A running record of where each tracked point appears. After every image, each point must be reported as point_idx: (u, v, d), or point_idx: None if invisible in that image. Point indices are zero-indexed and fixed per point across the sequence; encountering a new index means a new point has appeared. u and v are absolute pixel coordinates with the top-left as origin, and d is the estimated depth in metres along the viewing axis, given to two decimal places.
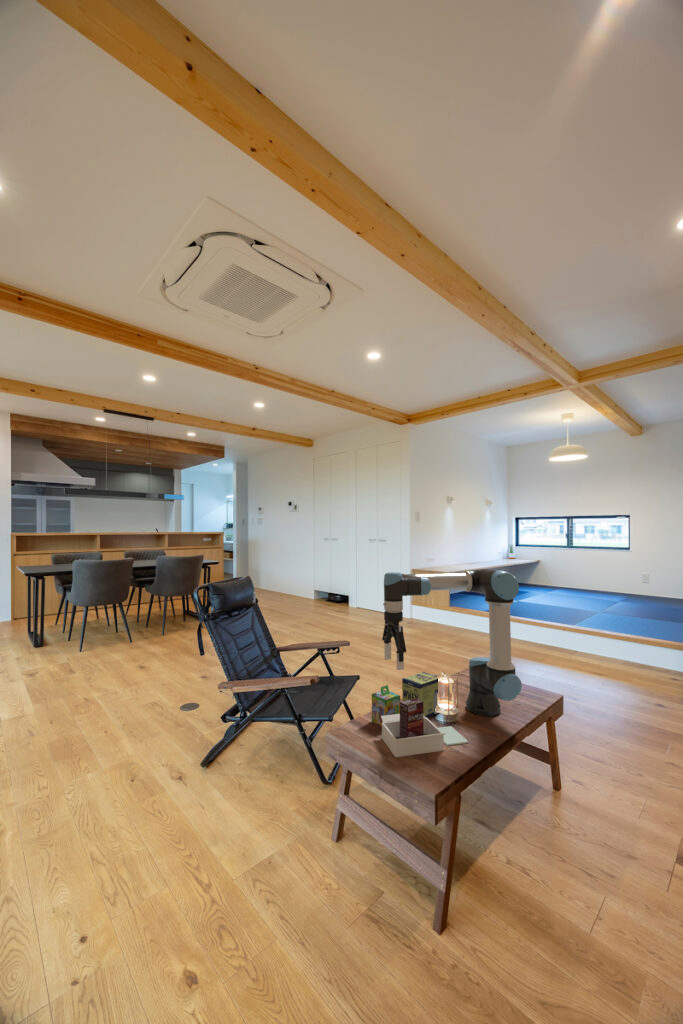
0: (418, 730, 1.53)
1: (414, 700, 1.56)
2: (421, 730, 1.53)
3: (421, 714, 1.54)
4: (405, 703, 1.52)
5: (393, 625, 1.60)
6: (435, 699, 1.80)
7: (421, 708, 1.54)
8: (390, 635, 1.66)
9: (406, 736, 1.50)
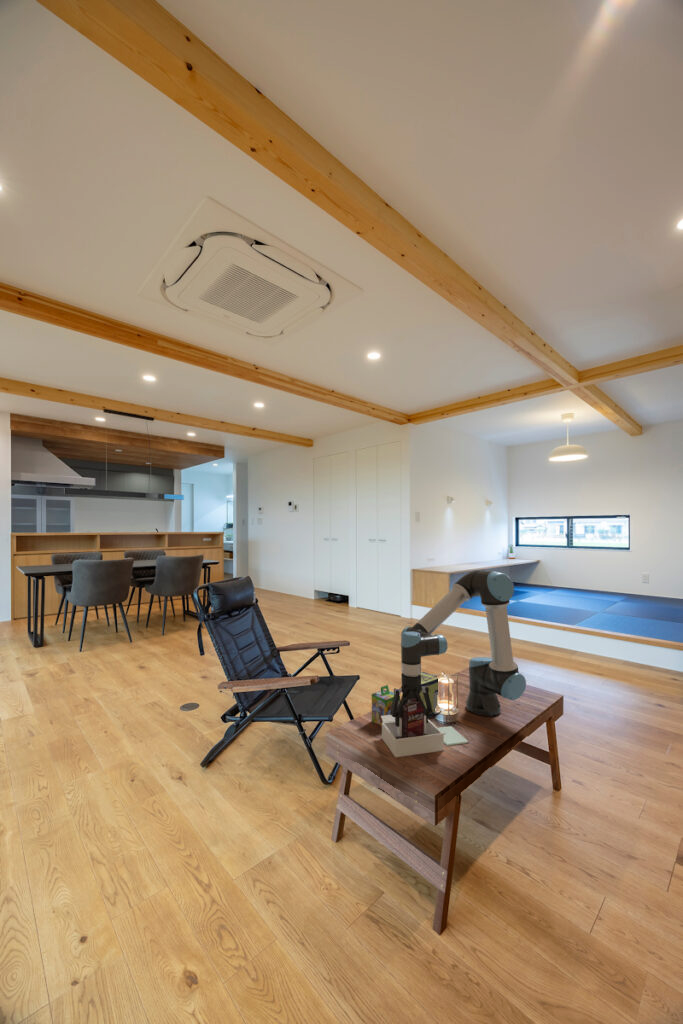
0: (418, 730, 1.53)
1: (414, 700, 1.56)
2: (421, 730, 1.53)
3: (421, 714, 1.54)
4: None
5: None
6: (435, 699, 1.80)
7: (421, 708, 1.54)
8: None
9: (406, 736, 1.50)
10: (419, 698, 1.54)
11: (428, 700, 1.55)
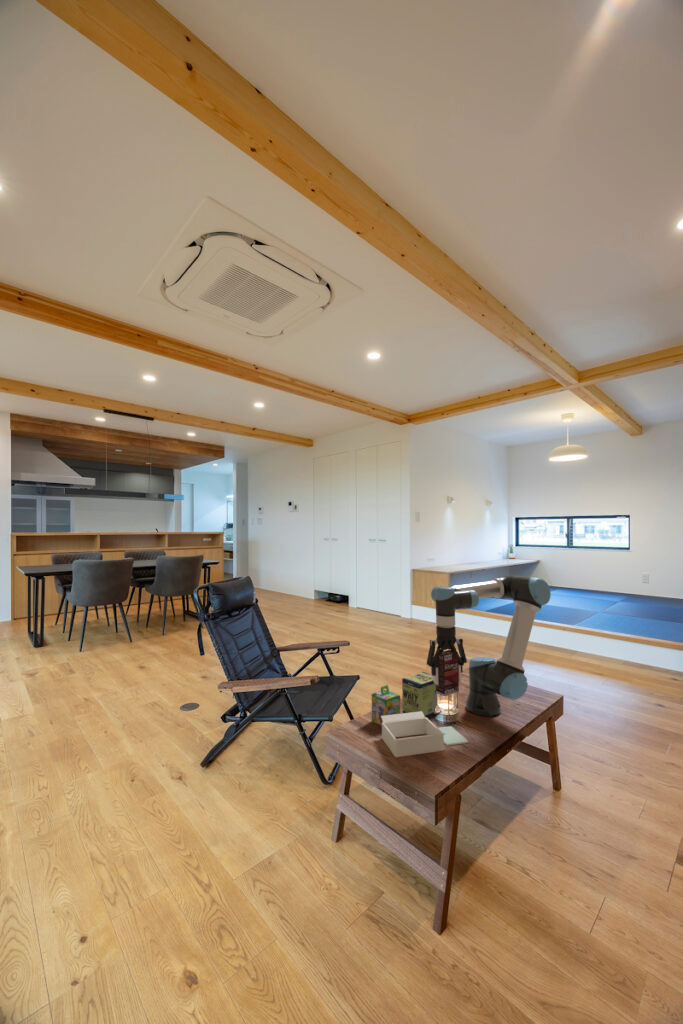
0: (454, 679, 1.60)
1: (449, 651, 1.63)
2: (457, 679, 1.61)
3: (456, 664, 1.61)
4: None
5: None
6: (435, 699, 1.80)
7: (456, 658, 1.61)
8: None
9: (443, 684, 1.57)
10: (454, 649, 1.61)
11: (462, 651, 1.62)
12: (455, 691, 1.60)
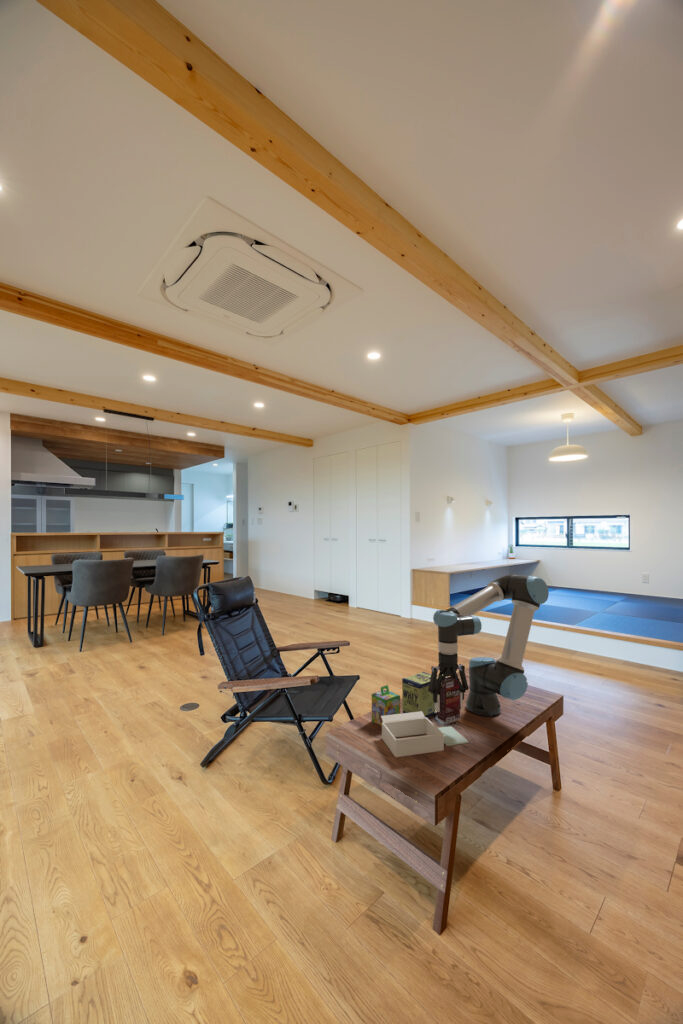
0: (455, 706, 1.59)
1: (450, 678, 1.62)
2: (458, 706, 1.60)
3: (458, 691, 1.60)
4: (443, 680, 1.59)
5: None
6: None
7: (458, 685, 1.60)
8: None
9: (444, 711, 1.57)
10: (456, 676, 1.60)
11: (464, 678, 1.61)
12: (456, 718, 1.59)
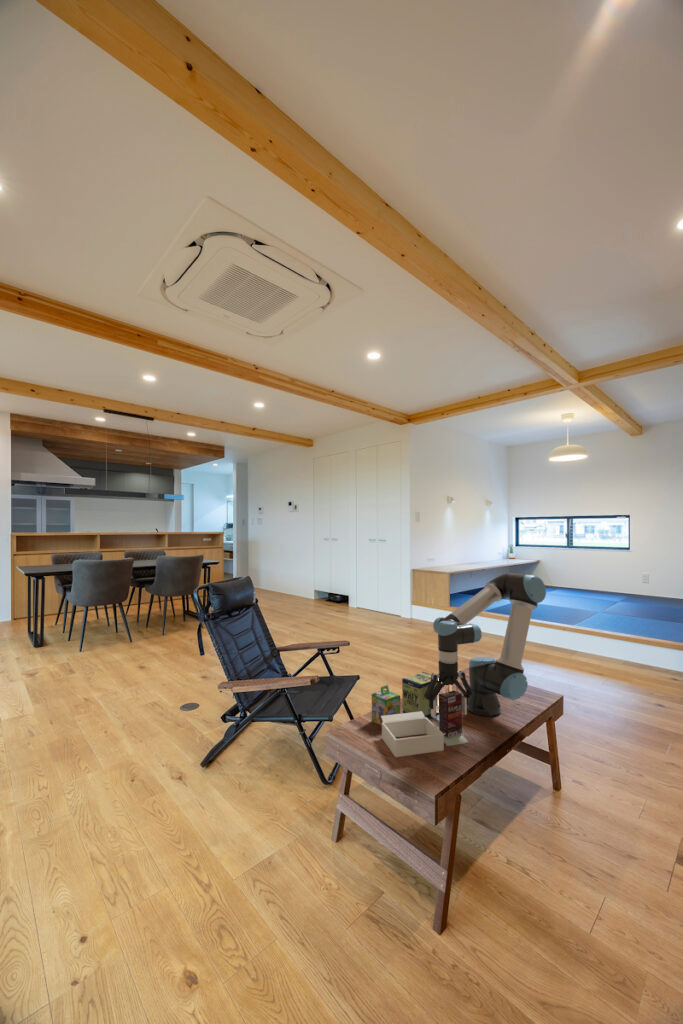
0: (457, 721, 1.59)
1: (452, 692, 1.62)
2: (460, 721, 1.60)
3: (460, 706, 1.60)
4: (445, 695, 1.59)
5: None
6: (435, 699, 1.80)
7: (460, 700, 1.60)
8: (458, 687, 1.61)
9: (446, 726, 1.56)
10: (457, 683, 1.60)
11: (466, 684, 1.62)
12: (458, 733, 1.59)
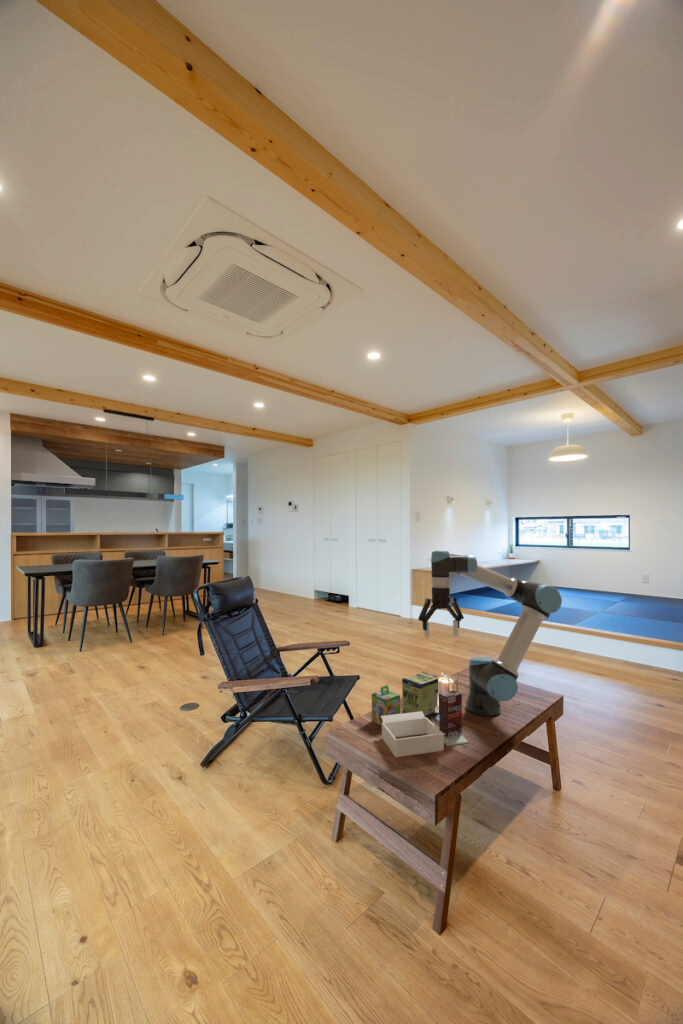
0: (457, 721, 1.59)
1: (452, 692, 1.62)
2: (460, 721, 1.60)
3: (460, 706, 1.60)
4: (445, 695, 1.59)
5: None
6: (435, 699, 1.80)
7: (460, 700, 1.60)
8: (450, 611, 1.73)
9: (446, 726, 1.56)
10: (449, 607, 1.71)
11: (458, 609, 1.73)
12: (458, 733, 1.59)
